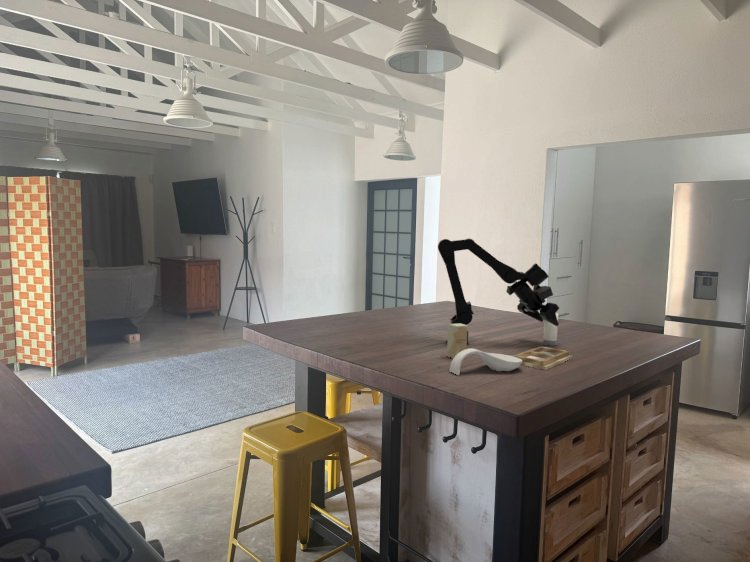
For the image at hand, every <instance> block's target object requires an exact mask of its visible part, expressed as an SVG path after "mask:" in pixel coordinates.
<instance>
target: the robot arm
mask: <svg viewBox="0 0 750 562" xmlns="http://www.w3.org/2000/svg"><path fill="white" fill-rule="evenodd" d="M437 250H438V252H439V254H440V256H441V258H442V261H443V263H444V265H445V268H446V273H447V276H448V279H449V283H450V287H451V290H452V295H453V298H454V306H455V314H454V316H452V317H451V318H450V319H449V322H450V324H459V323H461V324H464V325H467V326H468V325H469V324H470V323H471V322H472V321H473V315H474V311H473V308H472V302H471V301H466V299H465V295H464V292H463V291H464V290H463V287H462V285H461V284H462V283H461V281H460V277H459V273H458V268H457V264H456V255H455V252H459V251H464V250H468V251H469V252H470V253H472V254H473V255H474V256H476V257H477V258H478V259H480V260H481V261H482V262H484V263H485V264H486V265H487V266H488V267H490V268H491V269H492V270H493V271H494V273H495V274H496V275H497V276H498V277H499V278H500V279H501V280H502V281H503V282H505V283H506V284H509V285H507V288H506V291H505V292H506V294H508V295H509V296H512V295H513V294H515V295H516V297H517V298H518V299H519V300H518V304H517V306H516V307H517V308H516V309H517V310H518V312H519V313H521V314H523V315H526V316H528V317H530V318H531V319H535V320H536V321H539V322H541V323H542V322H544V320H546V321H547V322H549V323H551V324H553V325H555V326H558V327H559V325H560V324H559V319H558V320H557V317H556V313H557V312H558V311H559V309H560V306H559V305H558V304H557V303H554V302H547V303H546V304H544V303H545V302H546V299H548V298H549V297H552V296H554V293H553V291H552V287H551V286H548V285H541V284H542V283H543V282H545V281H546V280H547V279H548V278H549V277H550V276H549V274H547V272H546V271H545V270H544V269H543V268H541V266H540V265H538V263H536V262H535V263H533V264H532V266H530V268H529V269H527V270H526V271H525V272H523V271H517V270H516V269H515V268H514V267H512V266H510V265H508V264H505V262H502V261H501V260H498V259H497V258H496V257H495V256H493V254H491V253H489V252H488V251H487V250H486V249H484V247H481V245H479V244H478V243H476V241H475V240H474V239H472V238H466V239H457V240H456V239H455V240H451V239H450V240H449V239H448V238H443V239H442V240H440V241H439V242H438V244H437ZM510 284H512V285H510ZM530 286H531V287H530ZM532 288H533V289H532ZM445 341H446V343H448V339H446V340H445ZM467 344H470V343H469V331H468V330H467Z"/></svg>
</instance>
